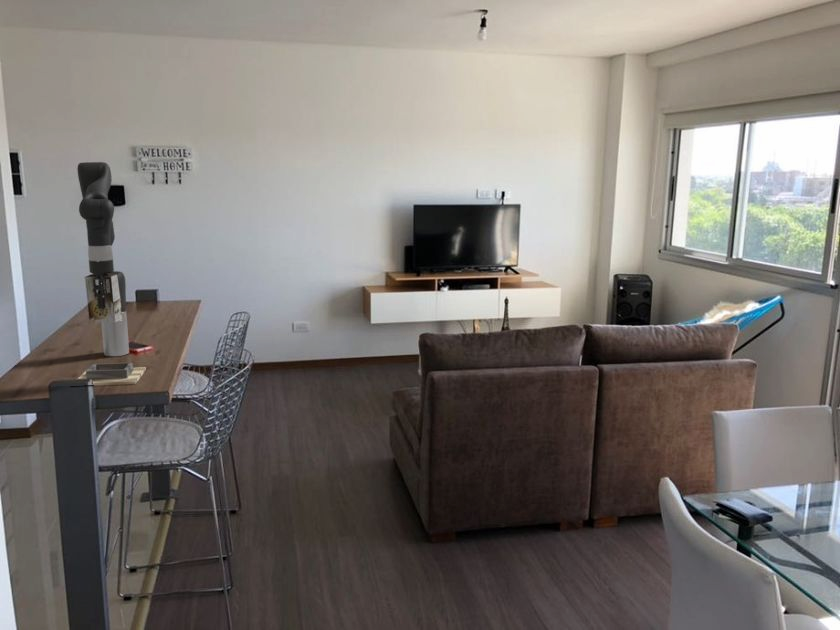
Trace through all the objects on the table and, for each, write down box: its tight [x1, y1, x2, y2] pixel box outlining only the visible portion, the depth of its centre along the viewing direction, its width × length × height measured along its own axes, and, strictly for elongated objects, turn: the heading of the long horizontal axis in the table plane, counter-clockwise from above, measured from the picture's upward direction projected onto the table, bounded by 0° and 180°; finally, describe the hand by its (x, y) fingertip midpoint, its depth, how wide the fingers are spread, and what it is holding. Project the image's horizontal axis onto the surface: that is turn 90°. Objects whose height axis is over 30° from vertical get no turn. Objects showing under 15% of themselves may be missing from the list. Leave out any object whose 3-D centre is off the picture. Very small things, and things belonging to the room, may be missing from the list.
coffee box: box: [84, 273, 122, 323], centre depth 231 cm, size 9×6×16 cm
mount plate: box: [77, 362, 147, 387], centre depth 236 cm, size 18×20×4 cm
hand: (104, 306), depth 231 cm, fingers closed on coffee box, 7 cm apart
